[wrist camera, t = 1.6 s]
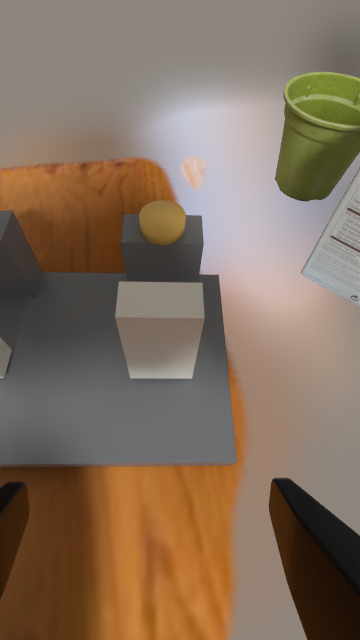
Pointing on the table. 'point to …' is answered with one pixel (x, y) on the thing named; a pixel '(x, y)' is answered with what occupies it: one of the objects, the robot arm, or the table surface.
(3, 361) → the cream upright block
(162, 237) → the grey holder stand
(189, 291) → the tall white block
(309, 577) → the robot arm
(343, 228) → the supplement box
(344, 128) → the plant pot
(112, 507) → the table surface
